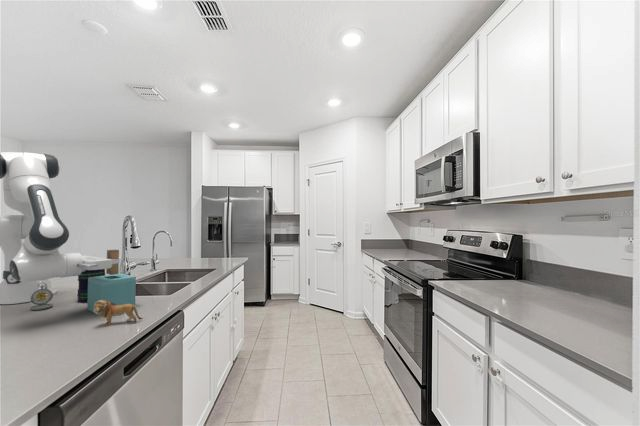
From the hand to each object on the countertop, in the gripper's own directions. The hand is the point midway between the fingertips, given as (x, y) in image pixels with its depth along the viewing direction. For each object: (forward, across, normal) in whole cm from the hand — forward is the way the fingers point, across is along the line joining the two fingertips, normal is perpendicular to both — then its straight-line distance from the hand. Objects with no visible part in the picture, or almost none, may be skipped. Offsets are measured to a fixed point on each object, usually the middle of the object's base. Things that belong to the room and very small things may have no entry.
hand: (115, 260), depth 119 cm
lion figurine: (-7, -22, +20) cm, 31 cm away
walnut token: (-1, 0, +6) cm, 6 cm away
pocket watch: (-16, +25, +20) cm, 36 cm away
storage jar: (-1, +22, +20) cm, 30 cm away
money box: (-1, 0, +20) cm, 20 cm away
